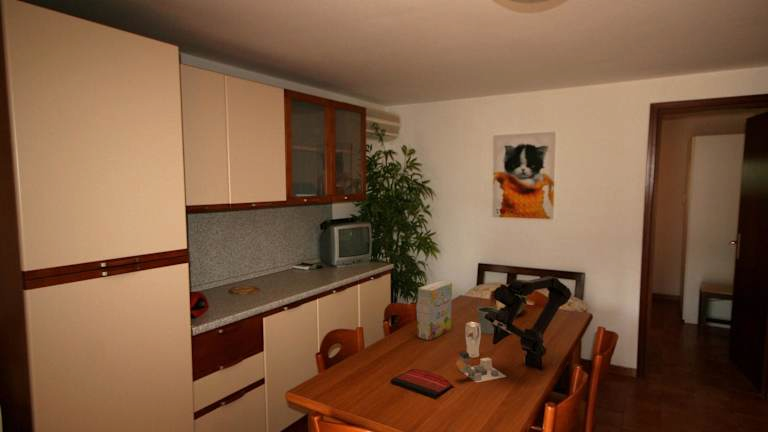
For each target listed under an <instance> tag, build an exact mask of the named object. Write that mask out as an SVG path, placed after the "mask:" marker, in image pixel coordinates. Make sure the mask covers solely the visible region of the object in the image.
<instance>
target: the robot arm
mask: <svg viewBox="0 0 768 432" xmlns="http://www.w3.org/2000/svg"><path fill="white" fill-rule="evenodd" d="M545 289H546V290H547V292H548V294H547V298H548V299H547V302H546V304H545V306H544V308H543V309H542V311H541V312H540V315H539V316H538V318H537V319H536V321H535V322H534V323H533V326H532V327H531V328H530V329H529V328H527V327H526V328H525V329H524V330H522V328H519V327H517V326H515V324H514V323H515V322H514V321H515V319H519V318H520V317H519V314H518V312H519V310H520V308H521V306H522V304H526V305H528V303H527V299H526V300H525V297H522V296H526V297H528V296H531V295H532V294H533V293H534V292H535V291H538V290H545ZM515 294H516V295H515ZM518 295H520V296H521V297H519V296H518ZM492 297H493V299H494V300H497V301H499V302H500V303H502V304H504V305H505V306H504V308H503V307H501V308H500V310H495V309H489V311H488V313H487V314H486V315H485V317H484V318H485V319H487V320H488V321H490V322H492V323H493V324H492V325H493V328H494V334H492V336H493V337H492V344H493V345H495V346H496V345H497V344H498V343H500V342H501V341H503V340H505V338H507V337H509V336H511V335H512V334H514V335H515V336H517V337H519V338H520V339H519V343H520V347H521V350H522V351H524V352H525V353H524V355H523V364H524V366H528V367H531V368H536V369H537V370H540V371H541V370H544V368H543V357H544V356H546V354H547V349H546V347H545V346H544V345H543V344H544V334H545V332H546V330H547V329H548V327H549V326H550V324H551V322H552V320H553V319H554V317H555V316H556V314H557V312H558V310H559V308H560V307H561V306H562V307H563V306H564V305H565V304H567V303H568V301H569V300H570V299H571V297H572V292H571V290H570V288H568V286H567V285H565V284H564V283H563V282H561V281H560V280H559V279H558V278H557V277H556V276H550V275H546V276H544V277H540V278H534V279H529V280H528V279H514V280H512V282H511V283H509V284H508V285H506V284H500V286H499V287H497V288H496V289H494V290H493V293H492Z"/></svg>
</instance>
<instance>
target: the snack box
mask: <svg viewBox="0 0 768 432" xmlns="http://www.w3.org/2000/svg"><path fill="white" fill-rule="evenodd" d="M417 288H418V289H417V320H416V321H417V322H416V323H417V326H416V329H417V330H416V337H417V338H419V339H422V340H426V341H431V340H433V339H435V338H437V337H440V336H441V335H443V334H445V333H447V332H448V331H450V330H451V329H452V297H453V296H452V294H453V293H452V292H453V291H452V290H453V283H452V282H449V281H443V280H442V281H441V280H438V281H436V282H432V283H429V284H427V285H423V286H420V287H417Z"/></svg>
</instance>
